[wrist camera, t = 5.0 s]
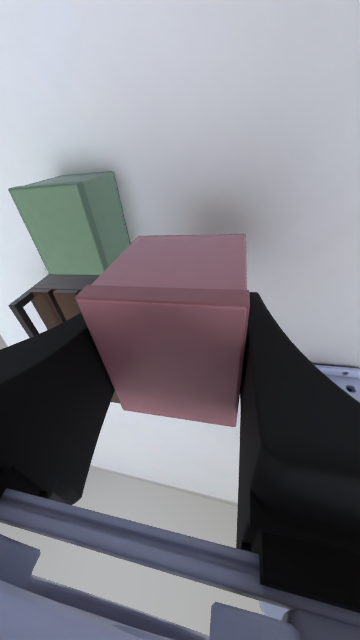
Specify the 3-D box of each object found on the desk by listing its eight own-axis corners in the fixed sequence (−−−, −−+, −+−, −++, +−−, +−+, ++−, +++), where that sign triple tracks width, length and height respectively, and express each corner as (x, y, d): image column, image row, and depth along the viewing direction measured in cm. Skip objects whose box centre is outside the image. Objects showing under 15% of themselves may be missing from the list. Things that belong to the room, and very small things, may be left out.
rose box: (247, 232, 9) (250, 305, 5) (238, 338, 13) (236, 429, 9) (136, 234, 10) (72, 298, 6) (156, 331, 14) (122, 411, 10)
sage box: (114, 170, 17) (75, 183, 13) (131, 247, 20) (105, 275, 16) (57, 175, 18) (6, 189, 14) (83, 248, 21) (48, 275, 17)
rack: (182, 271, 20) (164, 313, 16) (193, 384, 30) (184, 430, 26) (53, 270, 23) (7, 305, 19) (102, 374, 33) (79, 413, 29)
